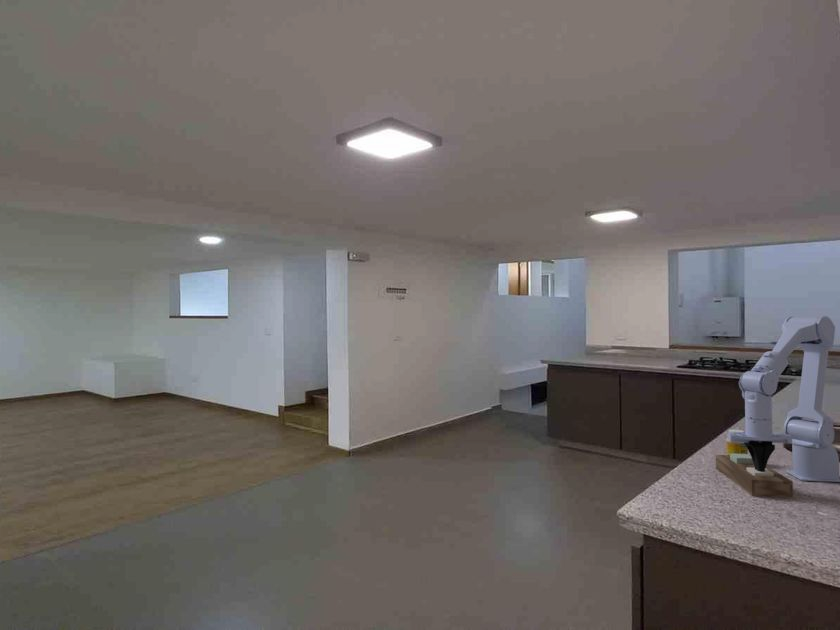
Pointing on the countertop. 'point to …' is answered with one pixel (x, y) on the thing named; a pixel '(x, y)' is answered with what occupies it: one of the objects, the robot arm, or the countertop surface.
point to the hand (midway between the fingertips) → (759, 470)
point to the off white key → (759, 472)
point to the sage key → (741, 458)
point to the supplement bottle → (736, 445)
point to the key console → (755, 479)
